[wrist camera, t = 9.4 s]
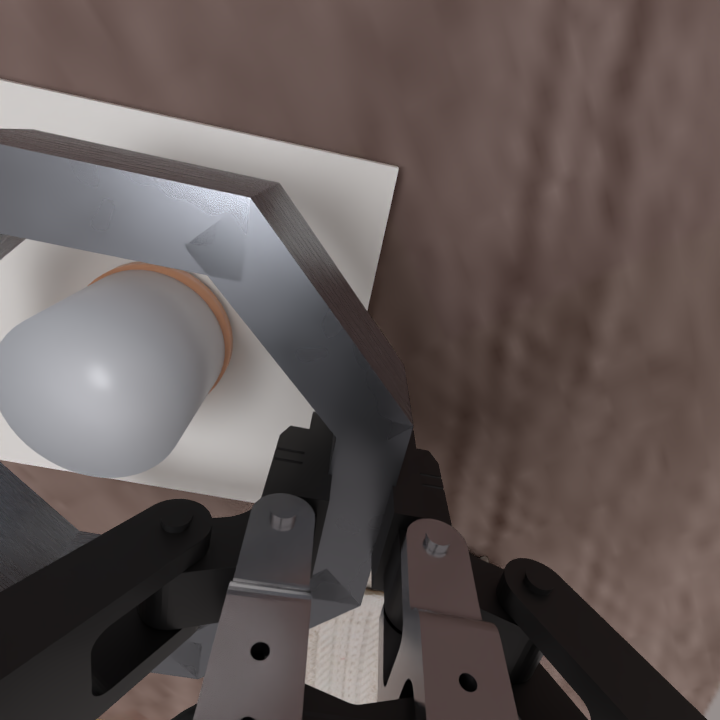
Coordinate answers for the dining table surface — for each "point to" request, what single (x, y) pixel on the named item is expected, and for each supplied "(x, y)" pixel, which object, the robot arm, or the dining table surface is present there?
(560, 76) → the dining table surface
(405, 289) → the dining table surface
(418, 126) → the dining table surface
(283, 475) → the robot arm
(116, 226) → the grey octagonal ring
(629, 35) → the dining table surface
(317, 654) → the washcloth
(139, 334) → the white square bulb light
